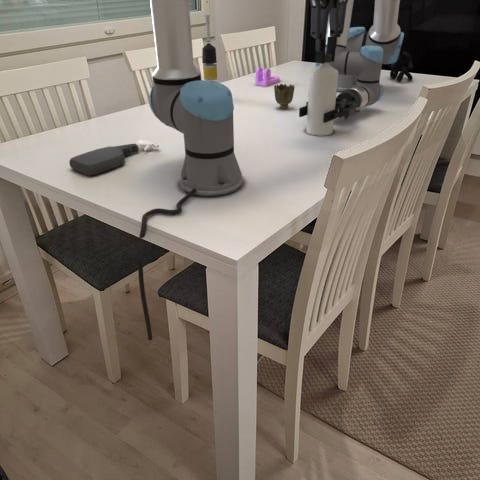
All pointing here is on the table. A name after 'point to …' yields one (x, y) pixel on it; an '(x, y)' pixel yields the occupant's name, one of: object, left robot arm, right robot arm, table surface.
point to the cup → (284, 95)
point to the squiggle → (401, 67)
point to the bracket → (265, 77)
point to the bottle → (321, 99)
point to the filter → (209, 57)
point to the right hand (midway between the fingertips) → (312, 115)
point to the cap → (328, 57)
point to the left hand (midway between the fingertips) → (325, 61)
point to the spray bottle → (106, 157)
